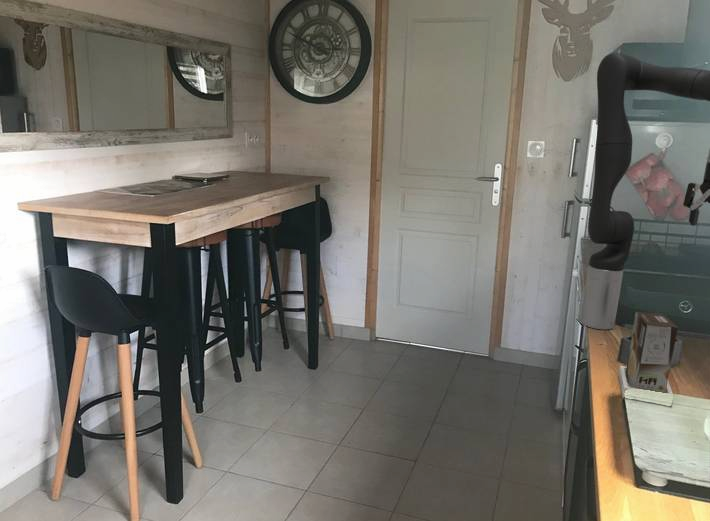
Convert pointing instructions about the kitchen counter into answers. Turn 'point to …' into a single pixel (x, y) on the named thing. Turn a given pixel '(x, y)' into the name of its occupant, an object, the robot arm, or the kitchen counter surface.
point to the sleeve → (625, 350)
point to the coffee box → (651, 352)
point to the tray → (626, 386)
